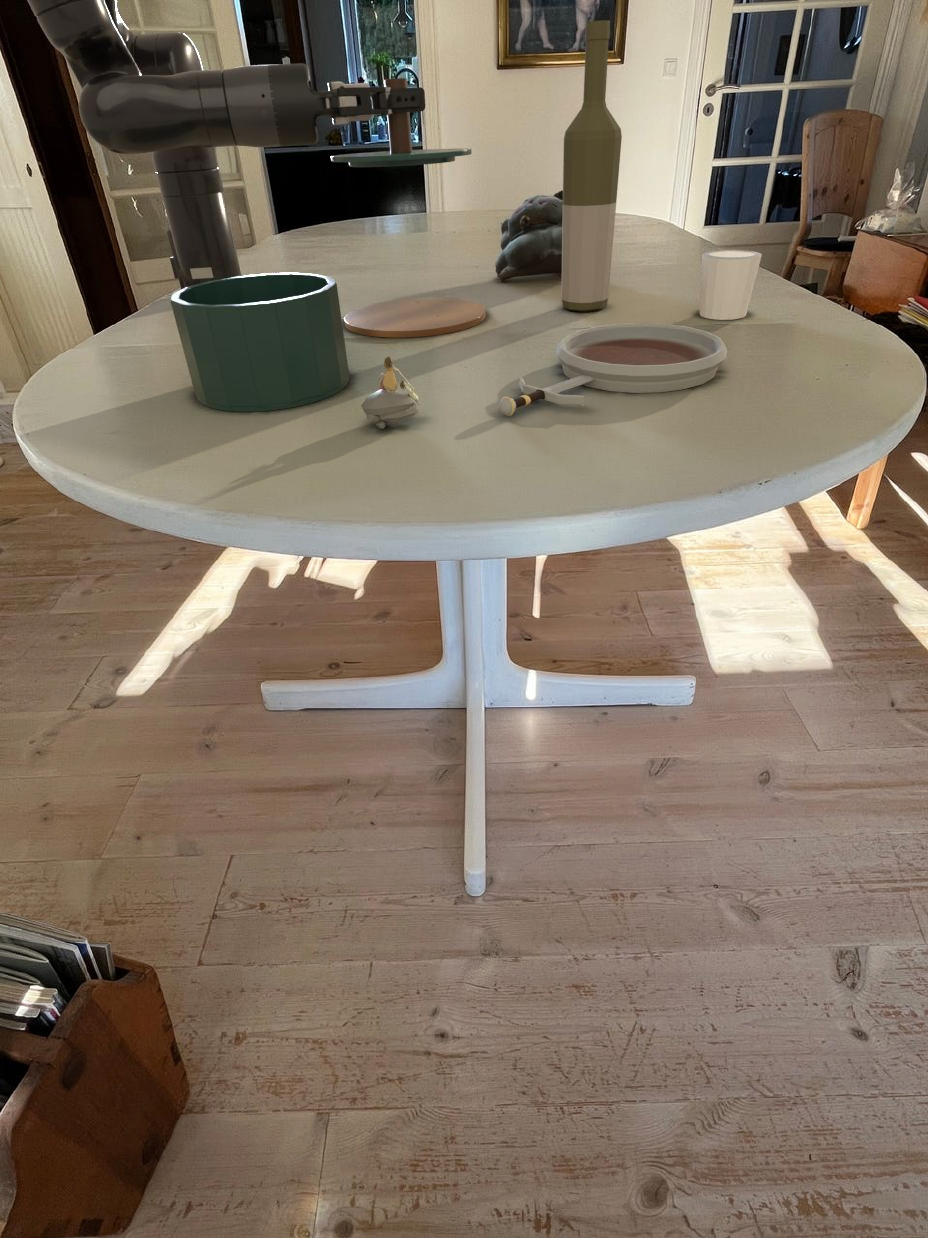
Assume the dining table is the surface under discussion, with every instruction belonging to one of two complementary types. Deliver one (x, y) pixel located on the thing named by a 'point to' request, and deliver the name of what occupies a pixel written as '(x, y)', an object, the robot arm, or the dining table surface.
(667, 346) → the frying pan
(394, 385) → the figurine
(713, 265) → the white cup
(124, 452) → the dining table surface
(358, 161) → the lid
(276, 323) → the pot
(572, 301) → the bottle
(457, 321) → the trivet
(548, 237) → the grey lumpy animal shape
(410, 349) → the dining table surface
